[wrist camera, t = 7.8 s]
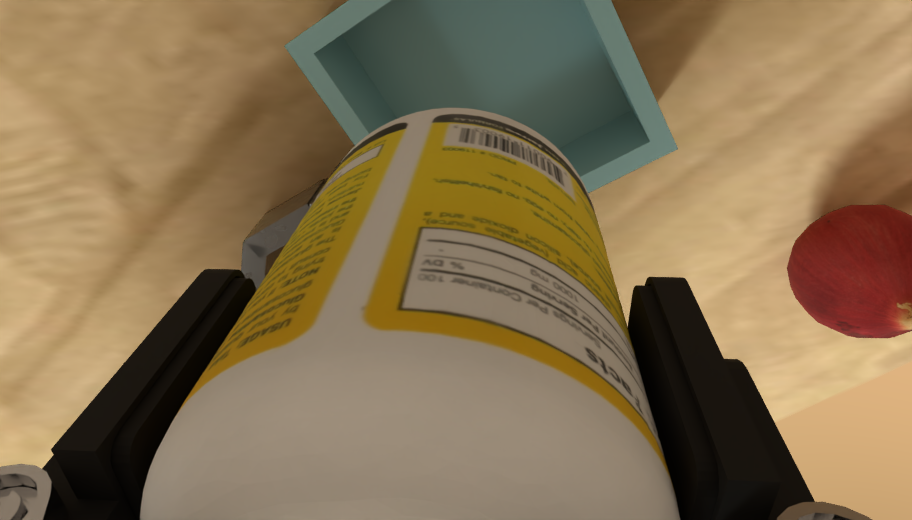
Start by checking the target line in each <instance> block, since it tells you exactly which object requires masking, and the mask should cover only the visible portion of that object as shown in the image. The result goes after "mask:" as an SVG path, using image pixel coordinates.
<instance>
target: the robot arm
mask: <svg viewBox="0 0 912 520" xmlns="http://www.w3.org/2000/svg"><path fill="white" fill-rule="evenodd" d="M255 292H256V287H255V284H254V282H253V280H252V279H250V278H245V276H244V274H243V273H242V271H240V270H229V269H206V270H204V271H203V272H201V273H200V275H199V276H198V277H197V278H196V279H195V281H194V282H193V283H192V284H191V285H190V286H189V288H188V289H187V290H186V291H185V292H184V293H183V295H182V296H181V297H180V298H179V299H178V301H177V302H176V303H175V304H174V305H173V306H172V308H171V309H170V310H169V311H168V312H167V314H166V315H165V316H164V317H163V318H162V319H161V321H160V322H159V323H158V324H157V325H156V326H155V328H154V329H153V330H152V331H151V332H150V334H149V335H148V336H147V337H146V338H145V339H144V341H143V342H142V343H141V344H140V345H139V346H138V348H137V349H136V350H135V351H134V352H133V354H132V355H131V356H130V357H129V358H128V359H127V361H126V362H125V363H124V364H123V365H122V366H121V368H120V369H119V370H118V371H117V372H116V374H115V375H114V376H113V377H112V378H111V379H110V381H109V382H108V383H107V384H106V385H105V386H104V388H103V389H102V390H101V391H100V392H99V394H98V395H97V396H96V397H95V398H94V399H93V401H92V402H91V403H90V404H89V405H88V406H87V408H86V409H85V410H84V411H83V412H82V414H81V415H80V416H79V417H78V418H77V419H76V421H75V422H74V423H73V424H72V425H71V427H70V428H69V429H68V430H67V431H66V432H65V434H64V435H63V436H62V437H61V438H60V439H59V441H58V442H57V443H56V444H55V445H54V447H53V448H52V449H51V450H52V452H53V454H54V455H53V456H52V458H51V459H50V460H49V461H48V462H47V464H46V465H45V466H44V467H43V468H42V469H41V468H39V467H37V466H34V465H25V464H17V465H10V466H2V467H0V520H140V511H141V502H142V496H143V489H144V486H145V482H146V479H147V475H148V472H149V468H150V466H151V464H152V461H153V459H154V456H155V454H156V451H157V450H158V448H159V446H160V444H161V442H162V440H163V438H164V436H165V434H166V433H167V431H168V429H169V427H170V425H171V423H172V421H173V420H174V418H175V416H176V415H177V413H178V411H179V410H180V408H181V406H182V404H183V403H184V401H185V400H186V398H187V397H188V395H189V394H190V392H191V391H192V389H193V387H194V386H195V384H196V383H197V381H198V380H199V378H200V377H201V375H202V374H203V372H204V371H205V369H206V368H207V366H208V365H209V363H210V362H211V360H212V359H213V357H214V355H215V354H216V352H217V351H218V349H219V348H220V346H221V345H222V343H223V342H224V340H225V339H226V337H227V336H228V334H229V333H230V331H231V330H232V328H233V327H234V325H235V324H236V322H237V321H238V319H239V317H240V316H241V314H242V312H243V311H244V309H245V308H246V306H247V304H248V303H249V301H250V300H251V299H252V297H253V296H254V294H255ZM628 332H629V335H630V339H631V343H632V346H633V348H634V351H635V356H636V360H637V363H638V366H639V370H640V374H641V377H642V381H643V384H644V388H645V391H646V395H647V399H648V402H649V406H650V409H651V413H652V416H653V419H654V422H655V425H656V428H657V431H658V437H659V439H660V442H661V446H662V449H663V453H664V457H665V460H666V464H667V467H668V471H669V474H670V477H671V480H672V484H673V488H674V491H675V495H676V499H677V505H678V510H679V516H680V520H872V519H870V518H869V517H867V516H865V515H862V514H860V513H858V512H855V511H853V510H851V509H849V508H846V507H843V506H839V505H835V504H830V503H826V502H815V501H814V499H813V497H812V495H811V493H810V491H809V489H808V487H807V485H806V483H805V481H804V479H803V478H802V475H801V473H800V471H799V470H798V468H797V466H796V464H795V462H794V460H793V458H792V456H791V454H790V452H789V450H788V448H787V446H786V444H785V442H784V440H783V438H782V436H781V434H780V433H779V431H778V429H777V427H776V425H775V423H774V421H773V419H772V417H771V415H770V413H769V411H768V409H767V407H766V405H765V403H764V401H763V399H762V397H761V395H760V393H759V391H758V389H757V387H756V385H755V383H754V382H753V380H752V378H751V376H750V374H749V372H748V370H747V368H746V367H745V365H744V364H743V362H741V361H739V360H738V359H724V358H723V356H722V354H721V352H720V350H719V348H718V346H717V344H716V341H715V339H714V337H713V335H712V333H711V331H710V329H709V327H708V324H707V322H706V320H705V318H704V316H703V314H702V312H701V310H700V307H699V305H698V303H697V301H696V299H695V297H694V295H693V293H692V290H691V288H690V286H689V284H688V282H687V280H686V279H685V278H676V277H649V278H647V280H646V283H645V286H635V287H634V290H633V294H632V301H631V308H630V315H629V322H628Z"/></svg>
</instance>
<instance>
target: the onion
mask: <svg viewBox="0 0 912 520" xmlns="http://www.w3.org/2000/svg"><path fill="white" fill-rule="evenodd" d="M787 271H788V276H789V281H790V286H791V288H792V291H793V293H794V295H795V297H796V299H797V300H798V301H799V303H800V304H801V305H802V306H803V308H804V309H805V310H806V311H807V312H808V313H809V314H810V315H811V316H812V317H813V318H814V319H815V320H816V321H817V322H819V323H821V324H823V325H825V326H827V327H829V328H831V329H834V330H836V331H838V332H841V333H843V334H845V335H847V336H852V337H856V338H891V337H895V336H898V335H901V334H904V333H907V332H910V331H912V216H911V215H909V214H907V213H904V212H902V211H899V210H897V209H894V208H892V207H889V206H887V205H850V206H847V207H844V208H841V209H838V210H835V211H832V212H830V213H828V214H826V215H824V216H823V217H821V218H820V219H818V220H817V221H815V222H813V223H812V224H810V225H809V226H808V227H807V228H806V230H805V231H804V232H803V233H802V234H801V235H800V236H799V237H798V239H797V240H796V241H795V243H794V246H793V248H792V252H791V255H790V258H789V262H788V266H787Z"/></svg>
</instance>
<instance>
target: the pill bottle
mask: <svg viewBox="0 0 912 520" xmlns="http://www.w3.org/2000/svg"><path fill="white" fill-rule="evenodd" d="M140 520H680V516H679V510H678V505H677V499H676V495H675V491H674V488H673V484H672V480H671V477H670V474H669V471H668V467H667V464H666V460H665V457H664V453H663V449H662V446H661V442H660V439H659V437H658V431H657V428H656V425H655V422H654V419H653V416H652V413H651V409H650V406H649V402H648V399H647V395H646V391H645V388H644V384H643V381H642V377H641V374H640V370H639V366H638V363H637V360H636V356H635V351H634V348H633V346H632V343H631V339H630V335H629V332H628V328H627V324H626V321H625V317H624V314H623V310H622V306H621V303H620V300H619V296H618V292H617V288H616V285H615V282H614V278H613V275H612V271H611V268H610V264H609V261H608V257H607V253H606V249H605V245H604V242H603V238H602V235H601V231H600V228H599V225H598V221H597V218H596V215H595V212H594V208H593V205H592V202H591V200H590V197H589V194H588V192H587V190H586V188H585V185H584V183H583V182H582V180H581V178H580V177H579V175H578V173H577V172H576V170H575V169H574V167H573V166H572V165H571V163H570V162H569V161H568V159H567V158H566V157H565V156H564V155H563V154H562V153H561V152H560V151H559V150H558V149H557V147H555V146H554V145H553V144H552V143H551V142H550V141H548V140H547V139H546V138H545V137H543V136H542V135H540V134H539V133H537V132H536V131H534V130H532V129H531V128H529V127H527V126H525V125H523V124H521V123H519V122H517V121H514V120H512V119H510V118H507V117H504V116H501V115H498V114H495V113H491V112H486V111H481V110H476V109H468V108H439V109H430V110H425V111H420V112H416V113H412V114H409V115H406V116H403V117H400V118H398V119H395V120H393V121H391V122H389V123H387V124H385V125H383V126H381V127H379V128H378V129H376V130H375V131H373V132H371V133H370V134H369V135H367V136H366V137H364V138H363V139H362V140H361V141H360V142H359V143H357V144H356V145H355V146H354V147H353V148H352V149H351V150H350V151H349V153H348V154H347V155H346V156H345V157H344V158H343V160H342V161H341V162H340V164H339V165H338V166H337V168H336V169H335V170H334V171H333V173H332V174H331V176H330V177H329V179H328V180H327V182H326V184H325V185H324V187H323V188H322V190H321V191H320V192H319V194H318V195H317V197H316V199H315V201H314V203H313V204H312V205H311V207H310V209H309V210H308V212H307V213H306V215H305V216H304V218H303V219H302V220H301V222H300V224H299V226H298V227H297V229H296V230H295V232H294V233H293V234H292V236H291V238H290V239H289V241H288V242H287V244H286V245H285V247H284V248H283V250H282V252H281V253H280V255H279V256H278V258H277V259H276V261H275V262H274V264H273V266H272V267H271V269H270V270H269V273H268V274H267V275H266V277H265V278H264V280H263V281H262V283H261V285H260V286H259V288H258V289H257V291H256V292H255V294H254V296H253V297H252V299H251V300H250V301H249V303H248V304H247V306H246V308H245V309H244V311H243V312H242V314H241V316H240V317H239V319H238V321H237V322H236V324H235V325H234V327H233V328H232V330H231V331H230V333H229V334H228V336H227V337H226V339H225V340H224V342H223V343H222V345H221V346H220V348H219V349H218V351H217V352H216V354H215V355H214V357H213V359H212V360H211V362H210V363H209V365H208V366H207V368H206V369H205V371H204V372H203V374H202V375H201V377H200V378H199V380H198V381H197V383H196V384H195V386H194V387H193V389H192V391H191V392H190V394H189V395H188V397H187V398H186V400H185V401H184V403H183V404H182V406H181V408H180V410H179V411H178V413H177V415H176V416H175V418H174V420H173V421H172V423H171V425H170V427H169V429H168V431H167V433H166V434H165V436H164V438H163V440H162V442H161V444H160V446H159V448H158V450H157V451H156V454H155V456H154V459H153V461H152V464H151V466H150V468H149V472H148V475H147V479H146V482H145V486H144V489H143V496H142V502H141V511H140Z"/></svg>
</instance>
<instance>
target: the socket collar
mask: <svg viewBox="0 0 912 520" xmlns="http://www.w3.org/2000/svg"><path fill="white" fill-rule="evenodd" d="M327 180H328V179H326V180H324V179H323V180H322V181H320V182H318V183H317V184H315V185H313V186H312V187H310V188H308V189H307V190H305V191H303V192H301V193H300V194H298V195H296V196H295V197H293V198H291V199H290V200H288V201H286V202H285V203H283V204H281V205H280V206H278V207H276V208H274V209H273V210H271V211H269V212H268V213H266V214H265V215H264V216H263V218H262V219H261V220H260V221H259V223H258V224H257V225H256V226H255V228H254V229H253V230H252V231H251V233H250V234H249V235H248V236H247V237H246V239H245V240H244V242H243V249H242V266H241V271H242V273H243V274H244V276H245V278H250V279H252V280H253V282H254V284H255V287H256V291H257V289H258V288H259V286H260V285H261V283H262V281H263V280H264V278H265V277H266V275H267V274H268V273H269V270H270V269H271V267H272V266H273V264H274V262H275V261H276V259H277V258H278V256H279V255H280V253H281V252H282V250H283V248H284V245H286V244H287V242H288V241H289V239H290V238H291V236H292V234H293V233H294V232H295V230H296V229H297V227H298V226H299V224H300V222H301V220H302V219H303V218H304V216H305V215H306V213H307V212H308V210H309V209H310V207H311V205H312V204H313V203H314V201H315V199H316V197H317V195H318V194H319V192H320V191H321V190H322V188H323V187H324V185H325V184H326V182H327Z"/></svg>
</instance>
